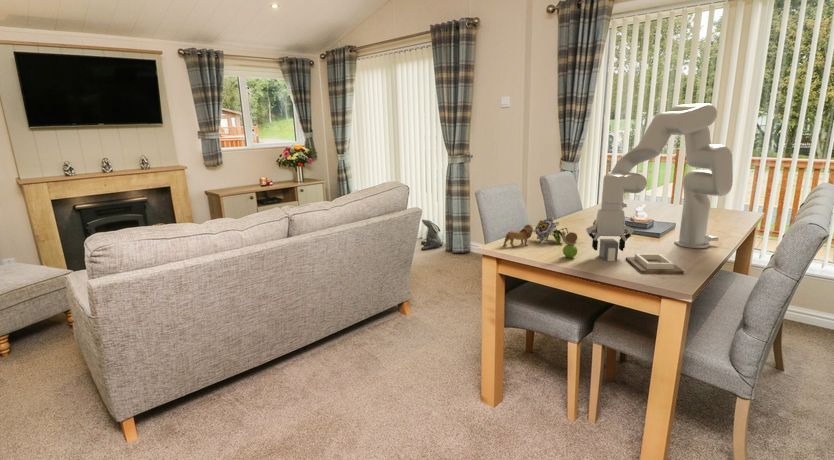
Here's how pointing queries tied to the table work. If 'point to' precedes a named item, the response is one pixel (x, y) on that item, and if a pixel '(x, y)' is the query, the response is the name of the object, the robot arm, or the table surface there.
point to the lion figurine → (519, 235)
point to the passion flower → (548, 230)
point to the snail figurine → (569, 244)
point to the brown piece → (653, 264)
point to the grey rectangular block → (608, 249)
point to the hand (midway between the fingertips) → (608, 249)
